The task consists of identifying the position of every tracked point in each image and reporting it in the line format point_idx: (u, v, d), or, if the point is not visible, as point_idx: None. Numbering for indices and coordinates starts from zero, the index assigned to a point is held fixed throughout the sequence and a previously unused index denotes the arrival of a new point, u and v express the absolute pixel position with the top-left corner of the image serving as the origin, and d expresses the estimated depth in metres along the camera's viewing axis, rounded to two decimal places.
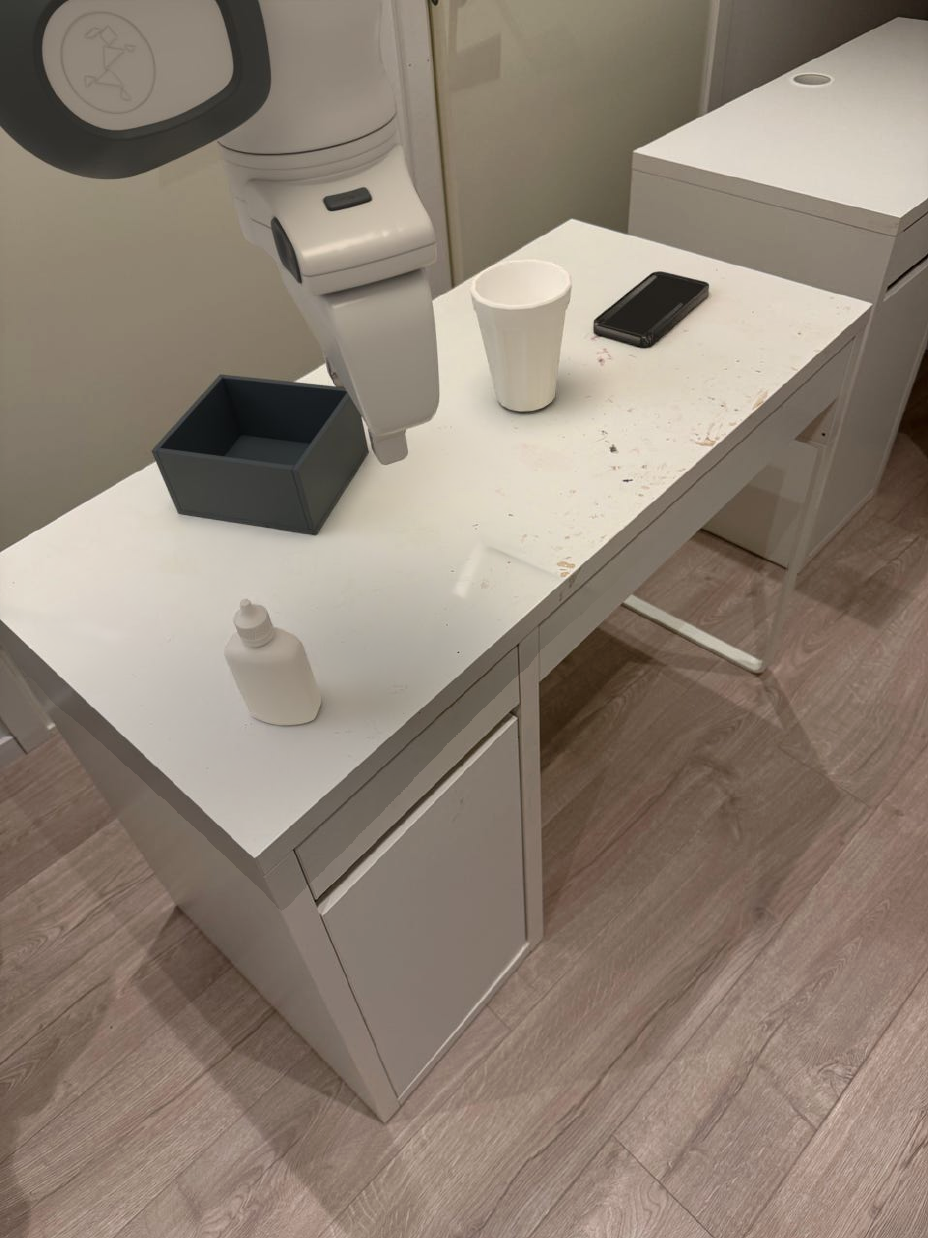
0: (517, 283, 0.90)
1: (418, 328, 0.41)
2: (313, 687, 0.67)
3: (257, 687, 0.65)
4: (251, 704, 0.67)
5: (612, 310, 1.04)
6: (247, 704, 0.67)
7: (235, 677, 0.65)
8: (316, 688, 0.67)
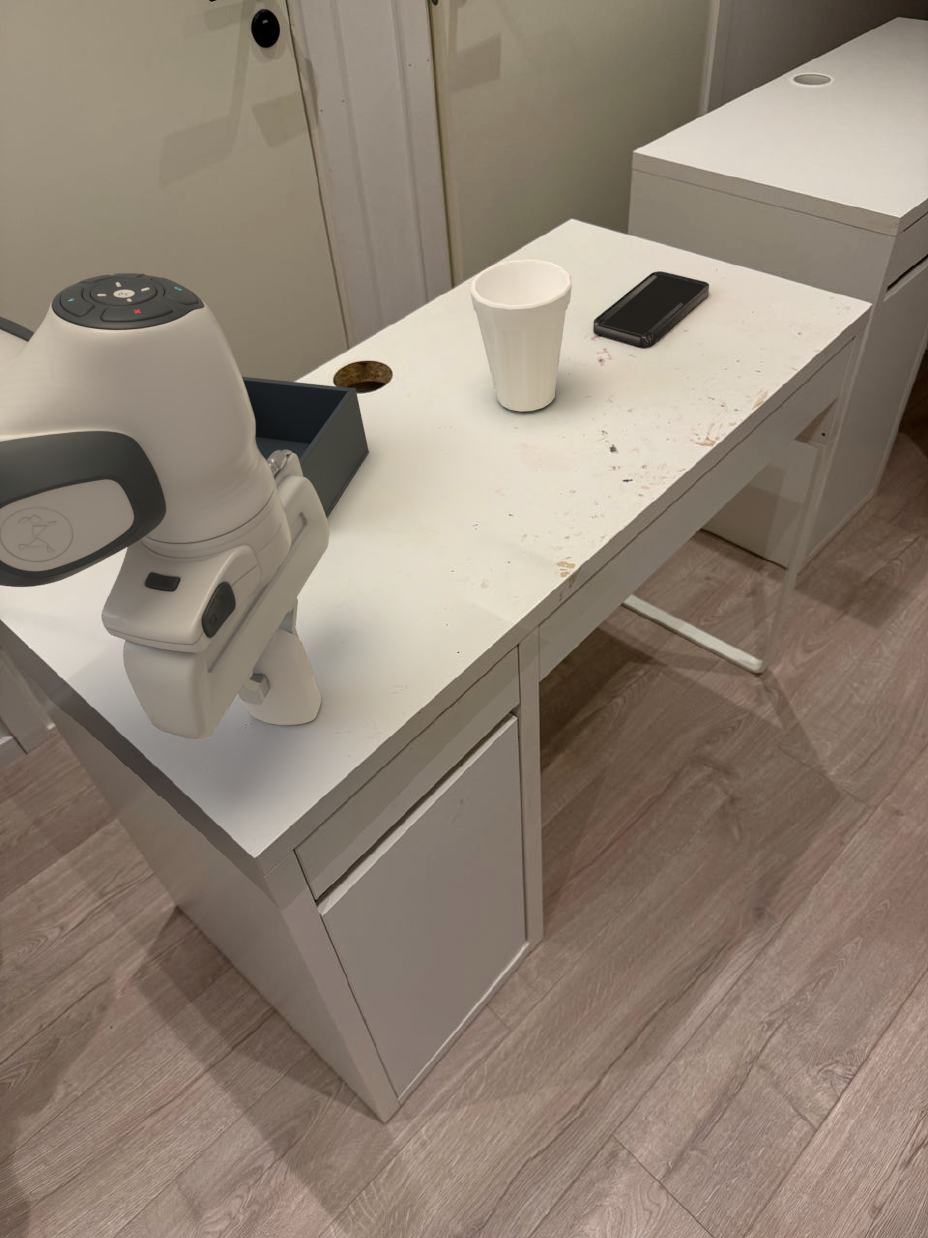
0: (517, 283, 0.90)
1: (177, 689, 0.52)
2: (313, 687, 0.67)
3: None
4: (251, 704, 0.67)
5: (612, 310, 1.04)
6: (247, 704, 0.67)
7: None
8: (316, 688, 0.67)
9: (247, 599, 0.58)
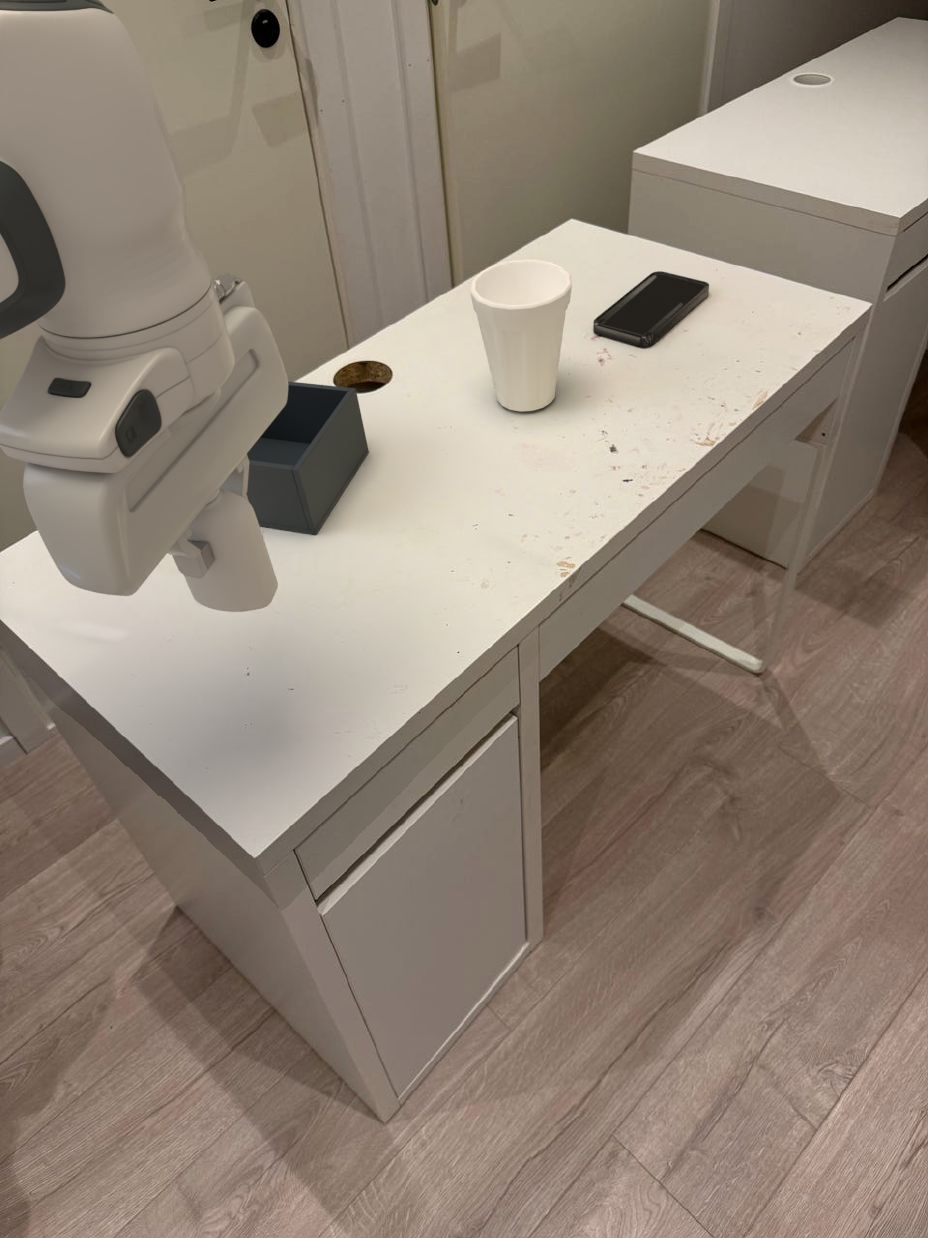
0: (517, 283, 0.90)
1: (87, 522, 0.43)
2: (267, 565, 0.57)
3: None
4: (195, 585, 0.58)
5: (612, 310, 1.04)
6: (190, 586, 0.58)
7: None
8: (271, 568, 0.58)
9: (182, 436, 0.48)
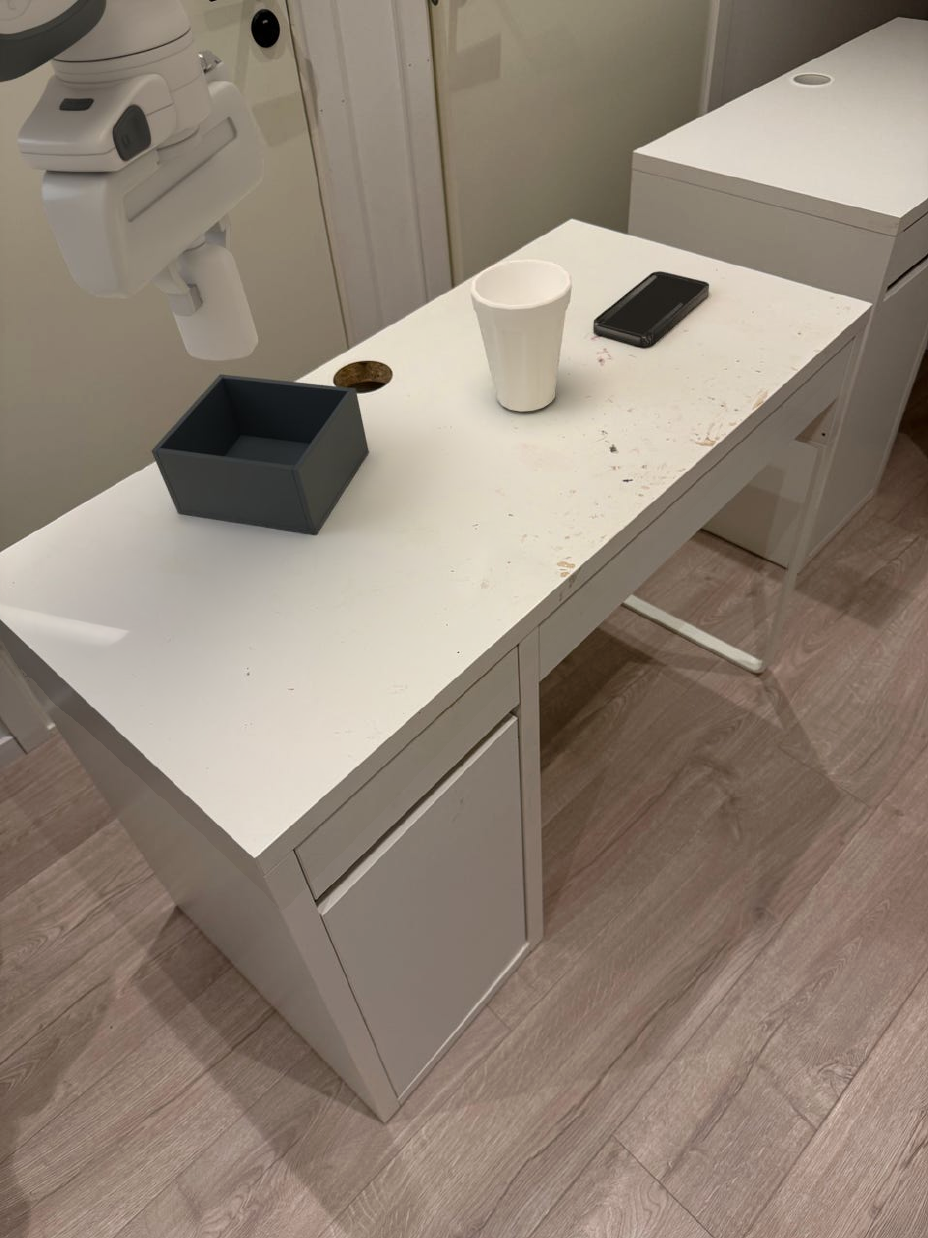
0: (517, 283, 0.90)
1: (92, 217, 0.53)
2: (248, 316, 0.68)
3: None
4: (187, 334, 0.68)
5: (612, 310, 1.04)
6: (184, 336, 0.68)
7: None
8: (251, 321, 0.68)
9: (170, 173, 0.59)
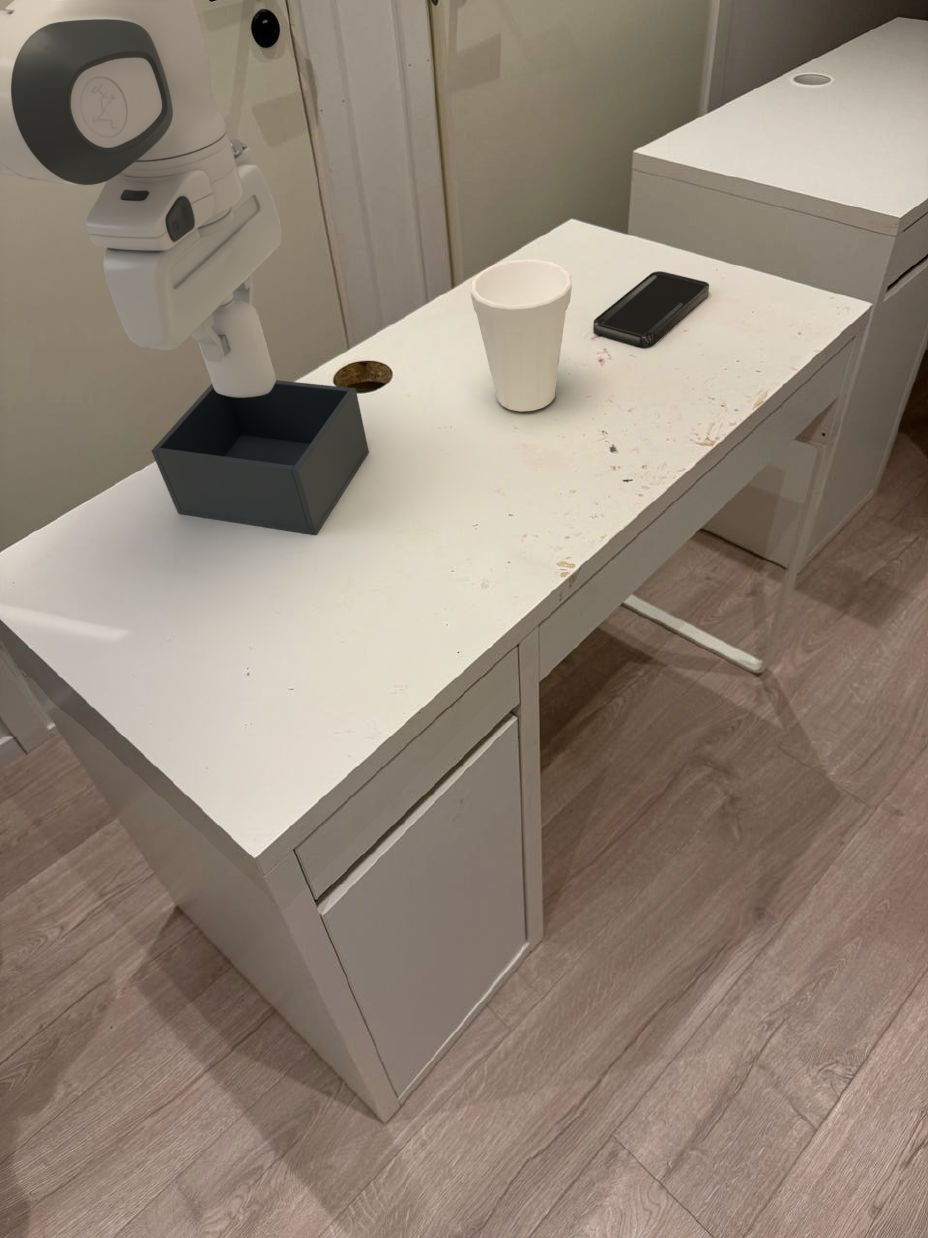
0: (517, 283, 0.90)
1: (146, 287, 0.64)
2: (268, 360, 0.79)
3: None
4: (215, 375, 0.79)
5: (612, 310, 1.04)
6: (212, 377, 0.80)
7: None
8: (270, 364, 0.80)
9: (207, 245, 0.70)
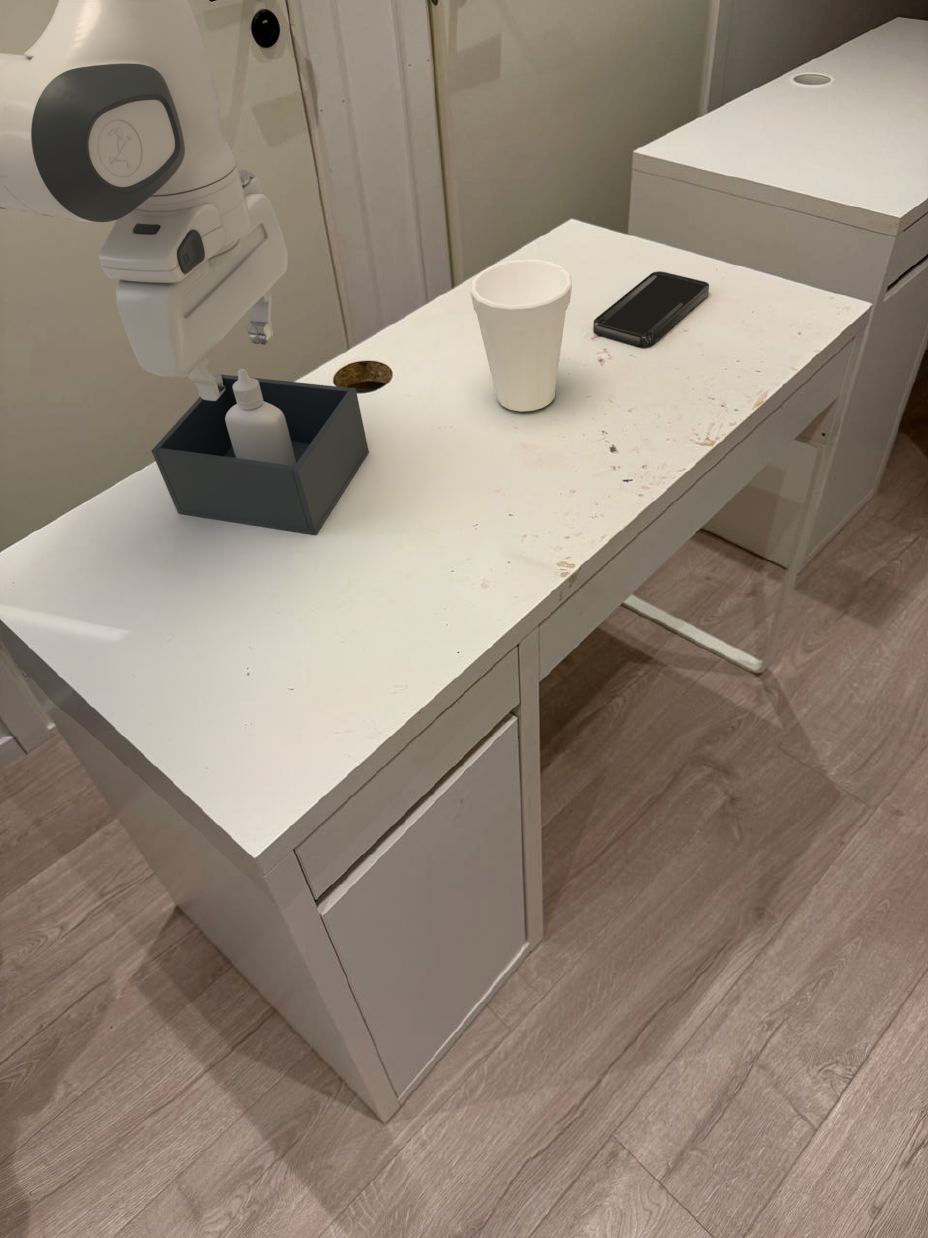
0: (517, 283, 0.90)
1: (158, 317, 0.66)
2: (291, 457, 0.86)
3: (247, 448, 0.84)
4: None
5: (612, 310, 1.04)
6: None
7: (232, 440, 0.85)
8: (294, 460, 0.87)
9: (216, 275, 0.72)
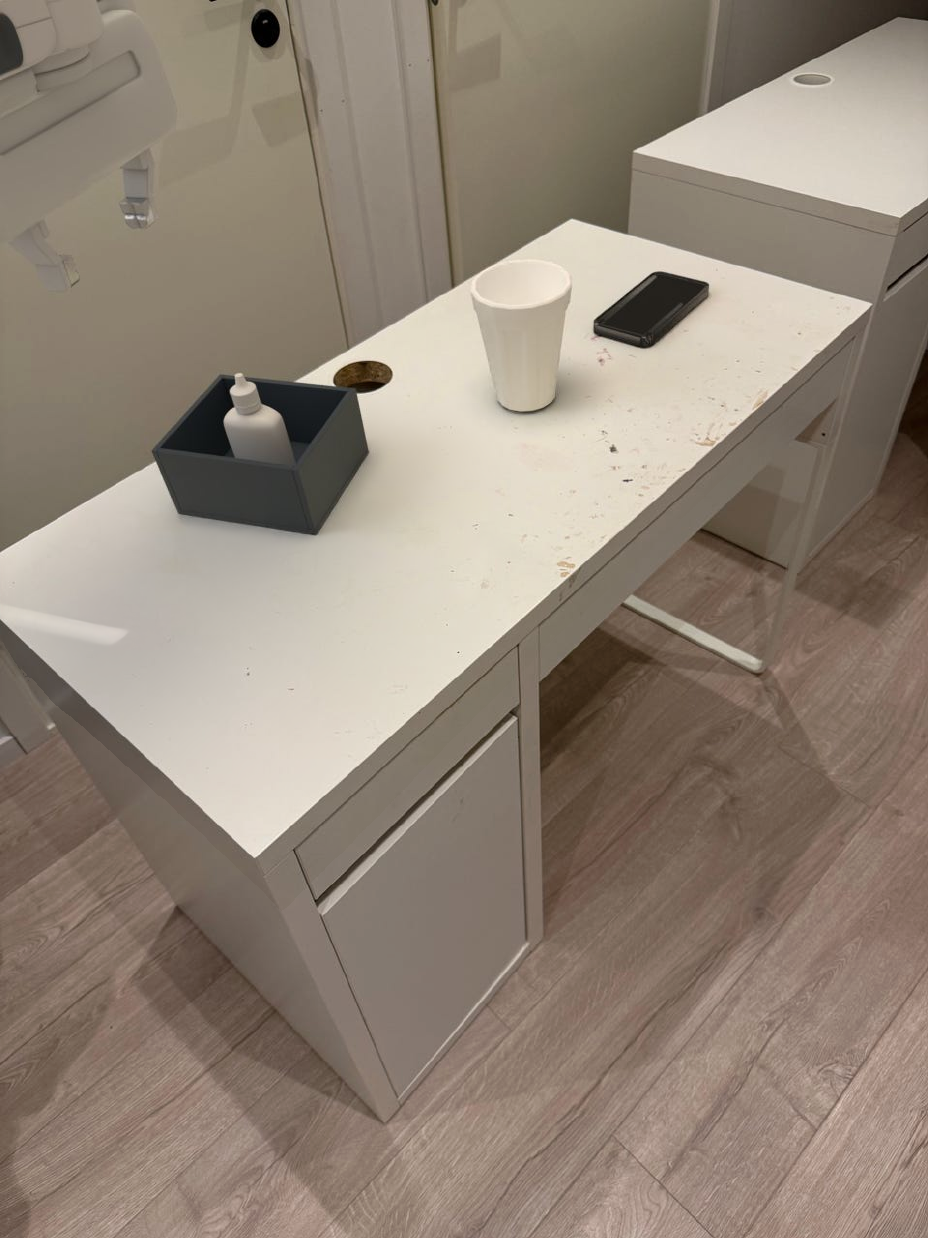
0: (517, 283, 0.90)
1: None
2: (291, 459, 0.86)
3: (247, 452, 0.84)
4: None
5: (612, 310, 1.04)
6: None
7: (231, 443, 0.85)
8: (294, 462, 0.87)
9: (56, 105, 0.51)
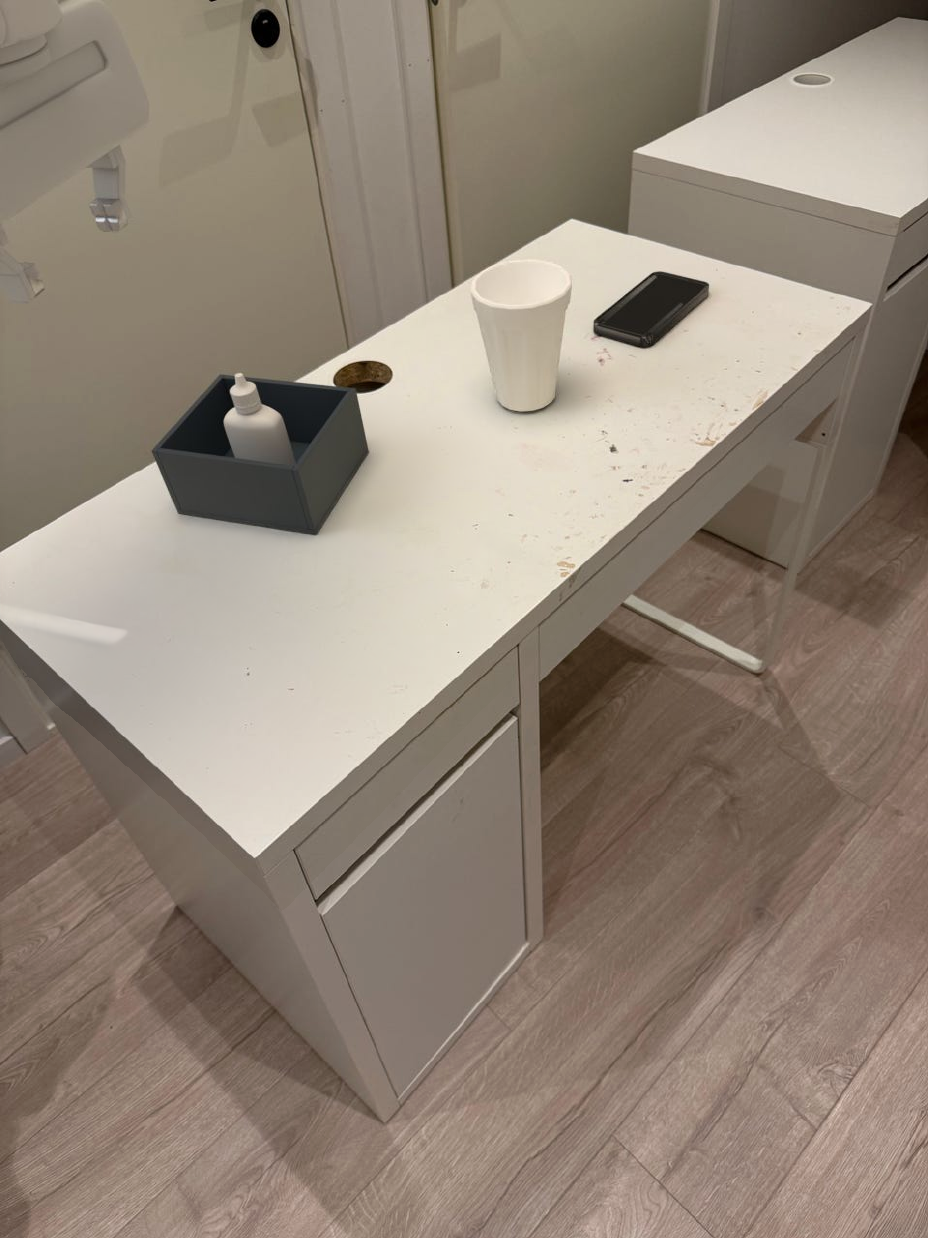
0: (517, 283, 0.90)
1: None
2: (291, 459, 0.86)
3: (247, 452, 0.84)
4: None
5: (612, 310, 1.04)
6: None
7: (231, 443, 0.85)
8: (294, 462, 0.87)
9: (11, 102, 0.47)
